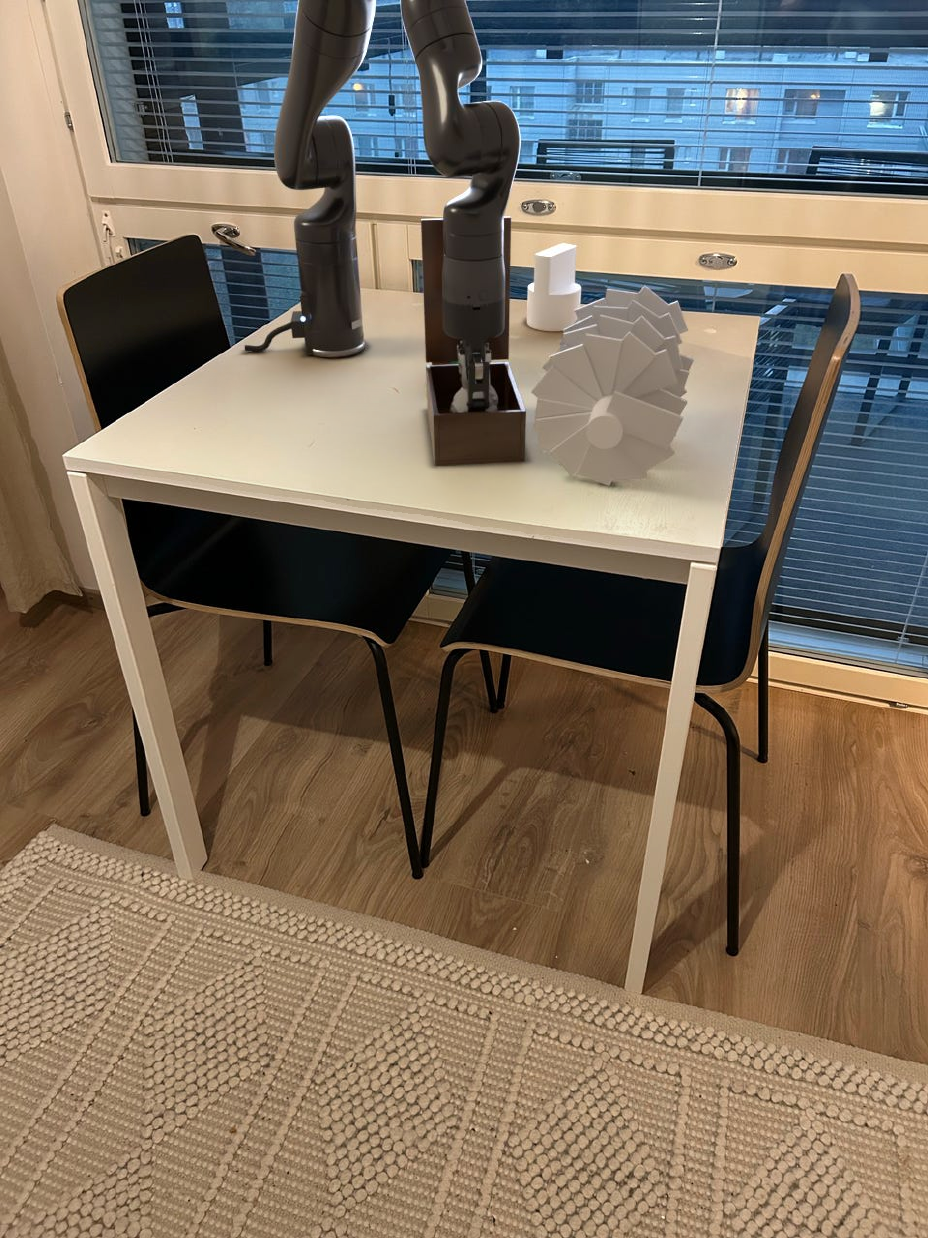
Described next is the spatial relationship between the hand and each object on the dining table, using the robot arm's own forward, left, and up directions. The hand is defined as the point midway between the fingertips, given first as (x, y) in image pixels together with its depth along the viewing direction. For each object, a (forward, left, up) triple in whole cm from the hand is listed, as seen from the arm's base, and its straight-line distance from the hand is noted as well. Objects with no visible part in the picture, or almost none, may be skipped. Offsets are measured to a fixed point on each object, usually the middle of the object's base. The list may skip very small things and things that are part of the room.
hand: (474, 423), depth 121 cm
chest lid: (0, +9, +14) cm, 17 cm away
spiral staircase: (+17, -6, -2) cm, 18 cm away
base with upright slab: (+18, +46, -2) cm, 49 cm away
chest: (0, +1, -2) cm, 2 cm away
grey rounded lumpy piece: (0, 0, -2) cm, 2 cm away
